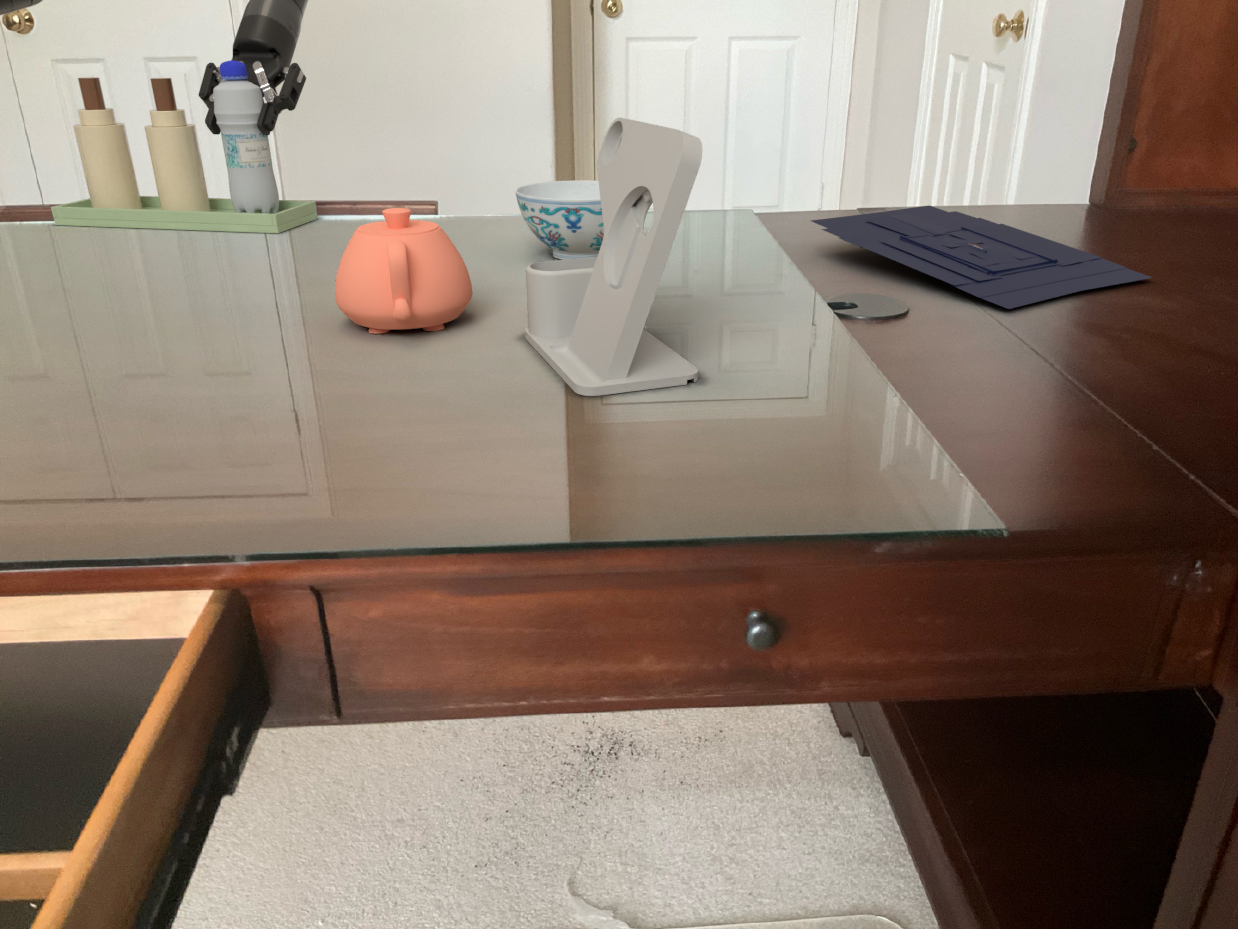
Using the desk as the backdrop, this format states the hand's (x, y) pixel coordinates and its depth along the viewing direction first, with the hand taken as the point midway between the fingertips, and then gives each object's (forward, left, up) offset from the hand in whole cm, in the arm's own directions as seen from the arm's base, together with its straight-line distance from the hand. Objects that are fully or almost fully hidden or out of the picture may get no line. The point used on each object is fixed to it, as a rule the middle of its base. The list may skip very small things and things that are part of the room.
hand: (237, 130), depth 124 cm
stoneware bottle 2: (-10, -4, -12) cm, 16 cm away
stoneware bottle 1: (-20, -10, -12) cm, 25 cm away
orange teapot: (+56, -16, -13) cm, 60 cm away
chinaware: (+48, +16, -13) cm, 52 cm away
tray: (-10, -4, -13) cm, 17 cm away
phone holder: (+76, -11, -13) cm, 78 cm away
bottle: (-1, +1, -12) cm, 12 cm away
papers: (+86, +39, -13) cm, 95 cm away
